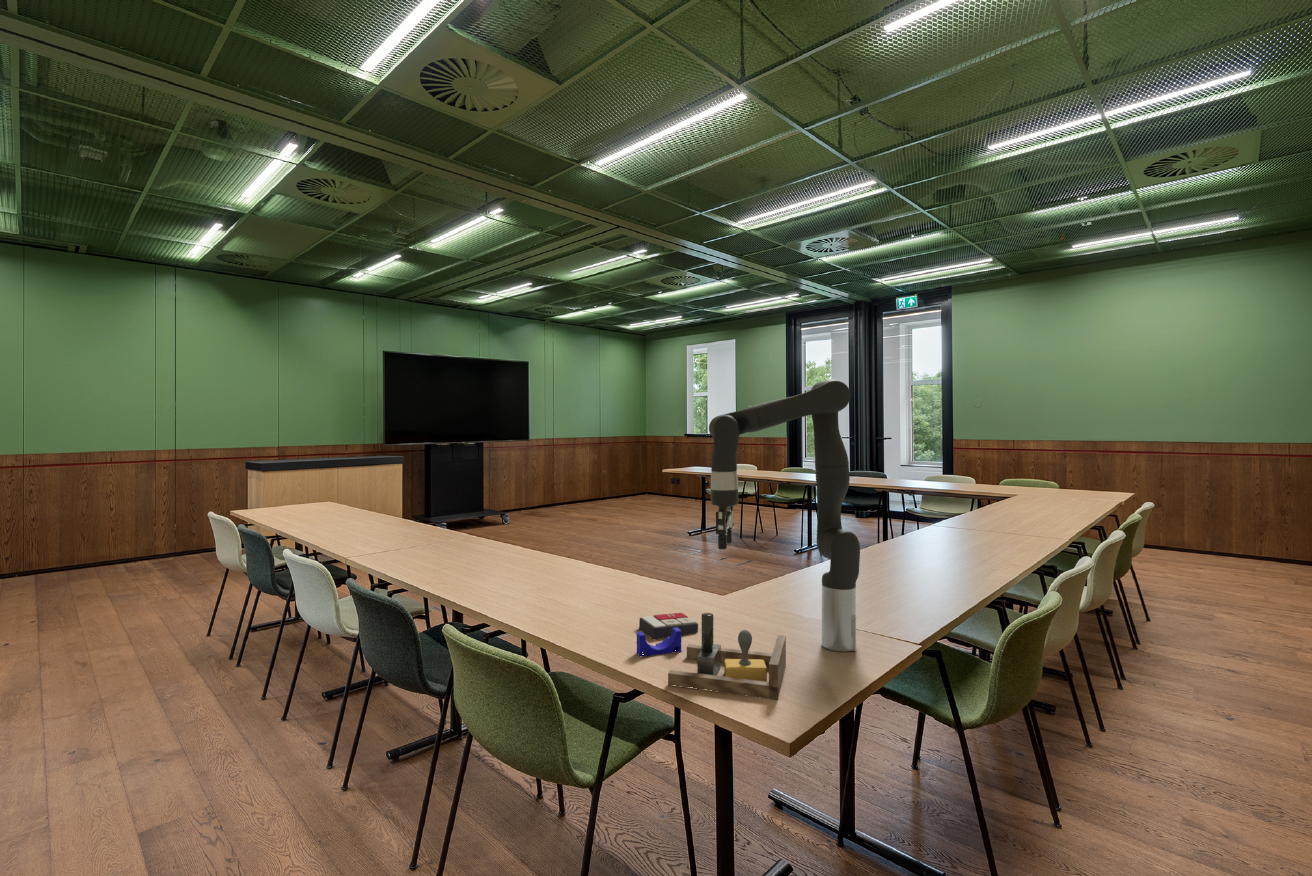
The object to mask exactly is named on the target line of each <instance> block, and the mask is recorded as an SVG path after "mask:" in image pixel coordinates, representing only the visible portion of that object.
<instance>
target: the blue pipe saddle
mask: <svg viewBox="0 0 1312 876" xmlns="http://www.w3.org/2000/svg"><path fill="white" fill-rule="evenodd" d="M675 650H676V651H675ZM642 652H643V653H642ZM672 652H675V653H680V652H682V635H681V630H680V629H679V628H678V627H676V628H672V634H671V636H670V637H667V638H664V639H663V640H662V641H661V642H658V643H656V644H655V645H651V644H649V643H648V642H647V639H646V635H645V633H644V632H643V631H636V654H637V655H638V654H639V655H638V656H639V657H640V656H644V657H650V656H658V655H657V654H659V655H665V654H666V655H667V654H672ZM642 654H644V655H642Z"/></svg>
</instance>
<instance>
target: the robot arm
mask: <svg viewBox="0 0 1312 876" xmlns="http://www.w3.org/2000/svg"><path fill="white" fill-rule="evenodd" d="M850 399H851V391H850V389H849V386H848V385H847V384H846V383H844V382H843V381H841V380H837V379H825V380H822V381H818V382H816V383H815V384H814V385H812V387H811V389H810V390H808V391H806V392H803V393H799V394H797V395H793V396H788V397H784V398H783V397H782V398H778V399H775V400H769V401H765V402H763V403H759V404H755V405H752V406H749V407H746V408H744V409H742V410H737V411H733V412H728V413H724V414H720V415H717V416H715V417H713V419H711V421H710V423H709V425H708V432H709V434H710V436H711V437H712V438H713V451H712V453H711V458H710V459H711V460H710V465H711V467H710V469H711V472H710V473H711V474H710V503H711V506H715V507H716V506H718V511H716V512H715V534H716V535H717V537H718V538H717V543H718V544H717V545H718V546H717V547H718V549H719V550H727V548H728V544H732V542H733V534H732V533H733V529H734V528H733V527H734V525H735V524H734V506H738V504H739V477H738V462H737V461H738V460H737V459H738V458H737V453H738V452H737V451H738V447H739V446H738V444H739V436H741V435H744V434H746V433H756V432H759V431H762V430H766V429H768V428H773V427H775V426H779V425H781V424H784V423H788V422H791V421H794V420H797V419H799V418H804V417H809V416H811V420H812V425H813V427H812V428H813V442H814V444H813V447H814V448H813V449H814V469H815V483H816V484H815V485H816V501H817V502H816V504H817V519H816V520H817V521H816V522H817V524H816V526H817V527H816V548H817V550H818V552H819V553H820V555H821V556H822V557H824V558H826V559H827V560H830V565H829V571H826V572H824V573H823V574H822V576H821V646H822V647H823V648H825V649H828V650H831V651H836V652H856V651H857V632H856V631H857V611H856V610H857V606H856V605H857V602H856V599H857V595H856V592H857V591H856V590H857V581H858V578H859V574H860V561H861V560H860V559H861V546H860V540H859V537H858V536H857V535H856V534H855V533H854V532H852V531H849V530H847V529H843V526H842V506H843V504H844V503H843V502H844V499H845V497H846V494H847V493H848V490H849V488H850V487H849V486H850V479H851V478H850V476H851V475H850V461H849V456H848V453H847V449H846V447H845V443H844V442H843V439H842V436H841V432H840V426H839V412H841V411H842V410H844V409H845V408H846V407H847V406H848V405H849V403H850V401H851V400H850Z"/></svg>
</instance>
